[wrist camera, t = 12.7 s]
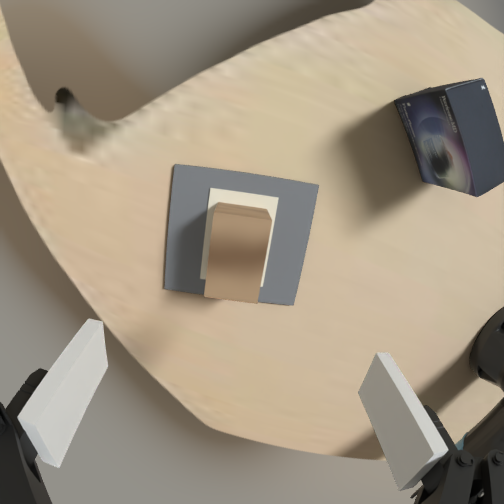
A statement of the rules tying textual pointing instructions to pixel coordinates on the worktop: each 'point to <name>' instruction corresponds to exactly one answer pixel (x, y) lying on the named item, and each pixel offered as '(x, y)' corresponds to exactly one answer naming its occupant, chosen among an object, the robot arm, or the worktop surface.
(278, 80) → the worktop surface
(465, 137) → the small box
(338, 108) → the worktop surface
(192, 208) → the mat
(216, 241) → the block
